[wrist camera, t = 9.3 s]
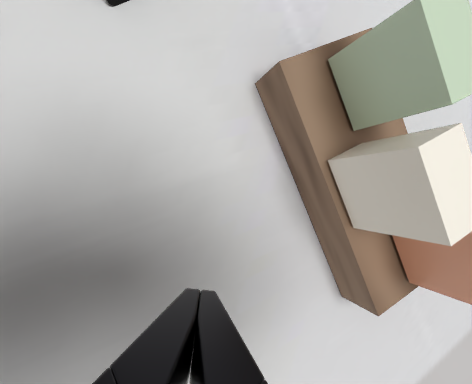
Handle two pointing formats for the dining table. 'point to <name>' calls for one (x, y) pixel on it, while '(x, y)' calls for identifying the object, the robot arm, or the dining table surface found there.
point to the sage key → (407, 63)
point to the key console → (321, 177)
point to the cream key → (410, 185)
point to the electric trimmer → (116, 2)
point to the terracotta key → (439, 266)
